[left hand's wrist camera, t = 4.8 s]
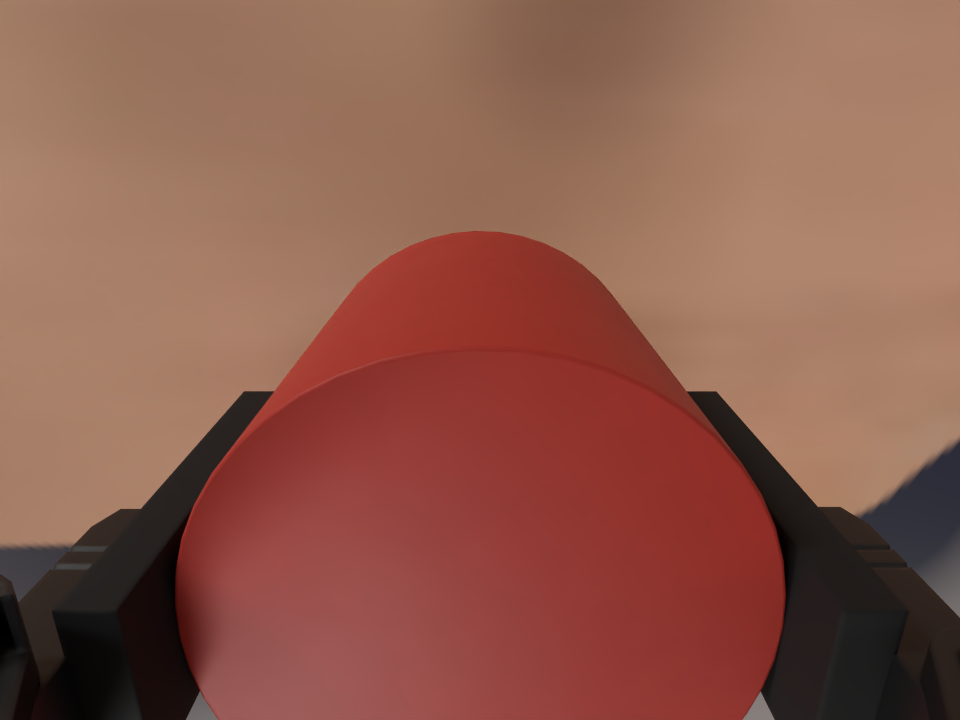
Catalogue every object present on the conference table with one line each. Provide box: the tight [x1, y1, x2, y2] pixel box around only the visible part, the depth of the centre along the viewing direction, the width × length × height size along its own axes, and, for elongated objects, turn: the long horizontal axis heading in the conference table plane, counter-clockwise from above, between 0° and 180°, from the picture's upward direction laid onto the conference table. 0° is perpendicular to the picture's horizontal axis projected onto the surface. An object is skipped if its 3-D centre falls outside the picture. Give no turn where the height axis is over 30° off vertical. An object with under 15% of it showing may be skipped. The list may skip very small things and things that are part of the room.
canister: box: [175, 231, 786, 720], centre depth 13 cm, size 8×8×9 cm
